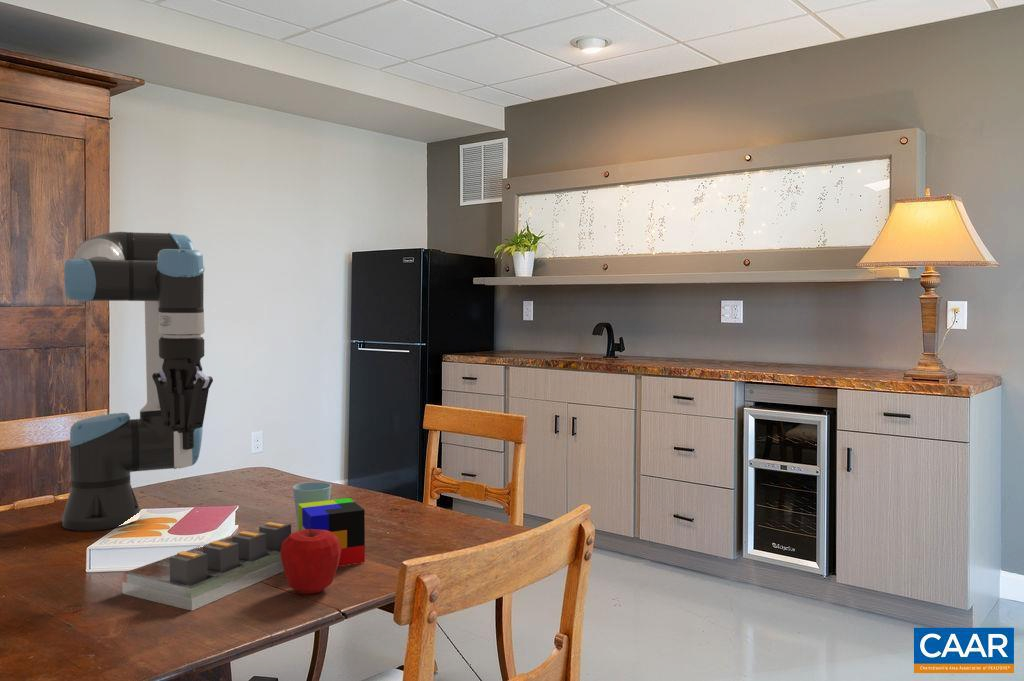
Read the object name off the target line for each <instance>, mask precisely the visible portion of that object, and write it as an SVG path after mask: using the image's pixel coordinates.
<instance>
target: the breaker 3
mask: <svg viewBox="0 0 1024 681" xmlns="http://www.w3.org/2000/svg"><path fill="white" fill-rule="evenodd" d="M238 533H239V534H238ZM238 533H237V534H238V535H235V534H234V535H235V536H232V535H231V536H232V542H234V543H238V554H239V559H240V560H245V561H250V562H253V561H255V560H258V559H260V558H263V557H265V556H266V533H260V532H259V531H253V530H247V531H246V530H242V531H240V532H238Z"/></svg>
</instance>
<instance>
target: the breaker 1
mask: <svg viewBox="0 0 1024 681" xmlns="http://www.w3.org/2000/svg"><path fill="white" fill-rule="evenodd" d="M190 550H191V549H189V551H188V550H186V552H185V551H184V550H182V551H180V552H177V553H176V554H174V555H175V556H174V555H171V556H172V557H171V556H168V557H169V558H170V581H171V582H175V583H180V584H184V585H188V586H192V585H194V584H197V583H200V582H202V581H205V580H207V554H205V553H200V552H195V551H190Z"/></svg>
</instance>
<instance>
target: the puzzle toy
mask: <svg viewBox="0 0 1024 681" xmlns="http://www.w3.org/2000/svg"><path fill="white" fill-rule="evenodd" d="M365 511H366V510H365V508H363V507H361V505H359V504H358V503H356V502H355V501H354V500H352V498H350V497H346V498H337V499H331V500H327V501H318V502H309V503H300V504H298V525H297V531H298V530H299V531H300V530H304V529H309V528H310V529H317V530H327V531H331V532H332V533H333V534H334V535H335V536H336V537H337V538H338V540H339V543H340V546H341V549H342V550H341V554H340V559H339V564H338V567H342V565H345V566H349V565H348V564H351V565H355V564H354V563H358V564H362V563H361V562H366V561H365V559H366V558H365V557H366V554H365V553H366V550H365V549H366V548H365V546H366V541H365V538H366V533H365V532H366V531H365V518H366V517H365V513H366V512H365Z"/></svg>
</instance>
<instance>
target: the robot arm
mask: <svg viewBox="0 0 1024 681" xmlns="http://www.w3.org/2000/svg"><path fill="white" fill-rule="evenodd" d="M63 268H64V270H63V276H64V279H63V281H64V295H65V297H66V298H67V299H68V300H70V301H78V302H79V301H80V302H81V301H82V302H99V301H100V302H105V301H106V302H107V301H108V302H111V301H112V302H113V301H115V302H120V301H121V302H122V301H123V302H124V301H126V302H128V301H129V302H144V325H145V326H144V330H145V331H144V334H145V366H146V367H145V369H146V371H145V372H146V375H145V376H146V403H145V405H144V406H143V407H142V408H141V409H140V410H139V418H136V419H135V418H133V419H131V416H130V414H129V413H128V412H120V413H119V412H117V413H116V412H115V413H105V414H102V415H96V416H91V417H87V418H83V419H81V420H80V419H79V420H78V421H75V422H74V423H73V424H72V426H71V427H70V429H69V430H70V431H69V443H68V446H69V447H70V450H69V452H70V453H69V454H70V457H69V458H70V491H69V495H68V498H67V500H66V504H65V507H64V511H63V513H62V514H61V515H62V518H61V522H62V523H61V525H62V528H64V529H66V530H69V531H70V530H71V531H77V532H78V531H83V532H86V531H101V530H109V529H114V528H119V527H118V526H119V525H121V524H123V523H124V522H125V521H127V520H128V519H130V518H131V517H133V516H134V515H136V514H137V513H139V512H141V510H140V505H139V504H138V500H137V496H136V495H135V492H134V490H133V487H132V484H131V473H132V472H142V471H143V472H145V471H158V470H159V471H160V470H169V469H174V470H177V469H185V468H188V467H193V466H194V465H195V464H196V463H197V462H198V459H199V458H200V452H201V446H202V440H203V429H204V427H203V426H204V420H205V416H206V415H205V414H206V409H207V403H208V396H209V391H210V388H211V386H212V383H213V381H214V379H213V377H212V376H206V375H205V373H204V372H203V367H202V364H201V359H202V358H204V357H205V339H204V337H202V335H204V333H205V312H204V310H205V309H204V292H205V290H204V286H205V285H204V281H205V280H204V279H205V278H204V276H205V275H204V274H205V273H204V272H205V266H204V255H203V253H202V252H201V251H200V250H199V249H198V250H196V249H195V247H194V244H193V241H192V239H191V238H190V237H189V236H187V235H184V234H175V233H171V232H168V233H166V232H165V233H164V232H163V233H161V232H160V233H159V232H134V231H133V232H132V231H131V232H129V231H127V232H126V231H111V232H107V233H103V234H102V233H101V234H99V235H96V236H95V235H94V236H93V237H90V238H88V239H86V240H84V241H83V242H82V243H80V245H79V246H78V247H77V249H76V251H75V254H74V258H69V259H66V260H65V262H64V266H63Z"/></svg>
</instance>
